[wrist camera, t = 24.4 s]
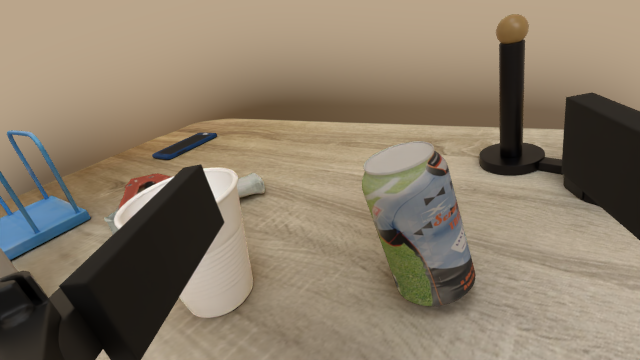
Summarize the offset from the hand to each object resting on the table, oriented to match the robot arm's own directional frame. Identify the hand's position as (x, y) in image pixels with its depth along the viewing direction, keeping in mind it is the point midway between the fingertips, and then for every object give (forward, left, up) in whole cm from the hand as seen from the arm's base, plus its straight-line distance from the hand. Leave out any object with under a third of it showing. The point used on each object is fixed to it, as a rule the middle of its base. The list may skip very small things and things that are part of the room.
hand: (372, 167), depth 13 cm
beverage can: (+11, +2, -16) cm, 20 cm away
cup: (+4, +20, -16) cm, 26 cm away
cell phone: (+38, +67, -16) cm, 78 cm away
